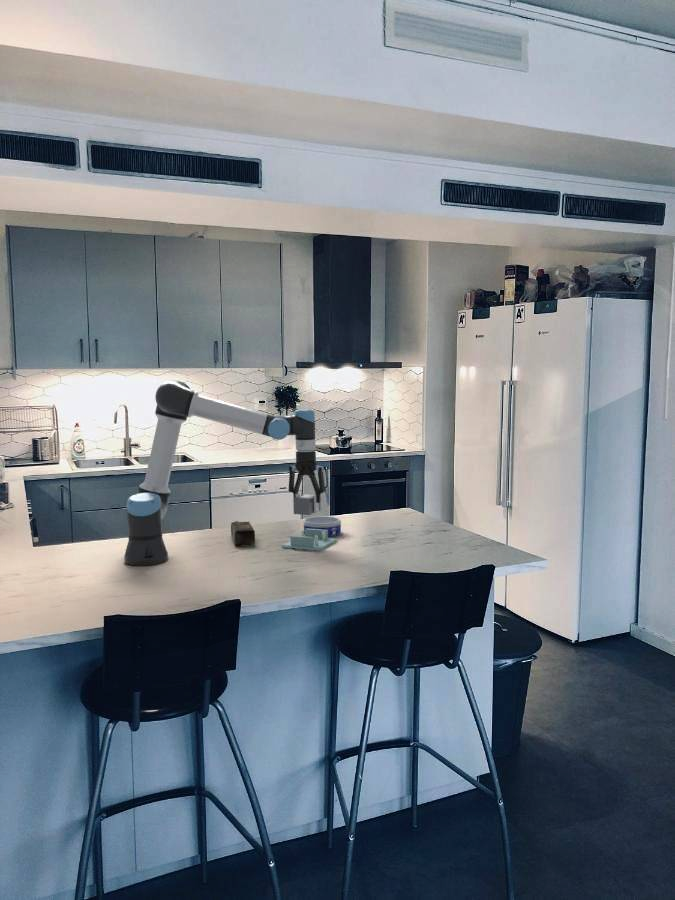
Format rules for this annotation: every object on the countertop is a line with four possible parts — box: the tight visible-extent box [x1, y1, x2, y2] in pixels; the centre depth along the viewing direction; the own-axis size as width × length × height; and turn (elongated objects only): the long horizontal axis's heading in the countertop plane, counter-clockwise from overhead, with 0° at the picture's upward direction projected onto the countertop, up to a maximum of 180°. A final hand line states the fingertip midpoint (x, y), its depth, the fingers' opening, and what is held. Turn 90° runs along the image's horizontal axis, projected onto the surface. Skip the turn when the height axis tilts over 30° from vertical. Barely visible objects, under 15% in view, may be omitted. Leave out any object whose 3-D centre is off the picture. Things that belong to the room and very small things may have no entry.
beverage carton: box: [230, 520, 256, 547], centre depth 286 cm, size 8×19×7 cm, turn 13°
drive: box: [292, 493, 322, 516], centre depth 275 cm, size 10×6×6 cm, turn 157°
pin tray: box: [281, 528, 338, 552], centre depth 278 cm, size 16×16×4 cm
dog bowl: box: [303, 515, 342, 538], centre depth 297 cm, size 15×15×6 cm
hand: (307, 510), depth 275 cm, fingers closed on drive, 7 cm apart
